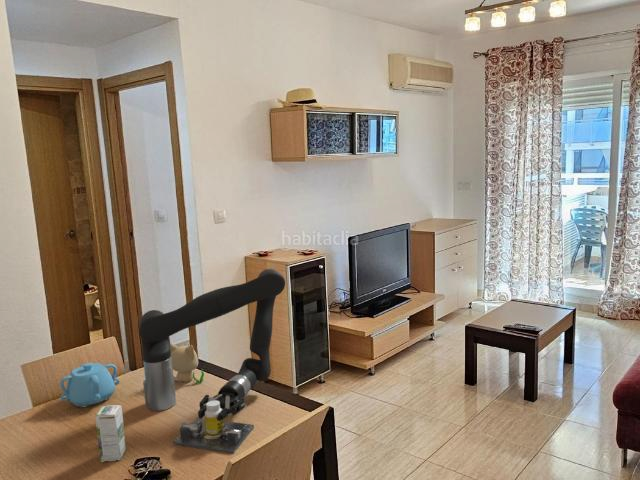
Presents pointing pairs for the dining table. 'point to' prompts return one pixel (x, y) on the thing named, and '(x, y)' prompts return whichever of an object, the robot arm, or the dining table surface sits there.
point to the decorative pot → (89, 384)
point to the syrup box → (110, 433)
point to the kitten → (184, 363)
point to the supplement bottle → (213, 419)
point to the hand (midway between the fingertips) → (209, 416)
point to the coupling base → (226, 442)
